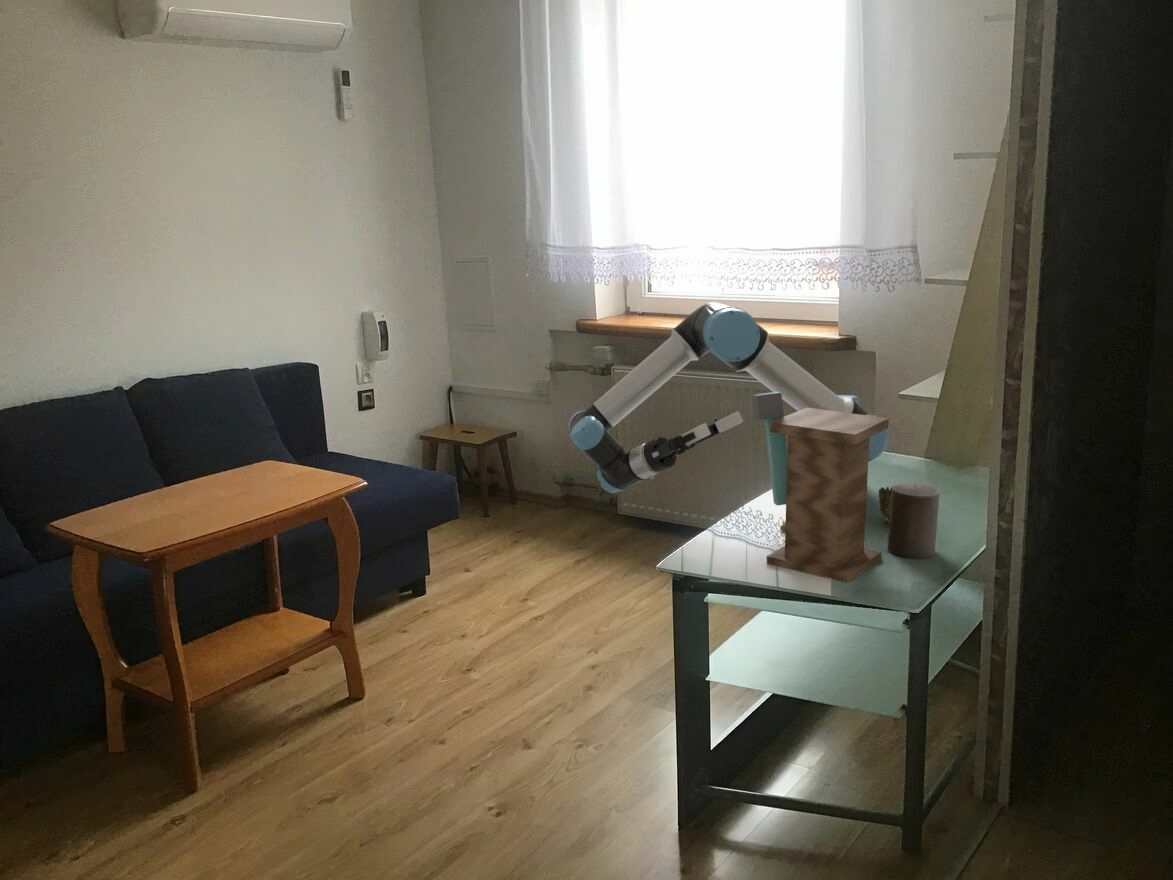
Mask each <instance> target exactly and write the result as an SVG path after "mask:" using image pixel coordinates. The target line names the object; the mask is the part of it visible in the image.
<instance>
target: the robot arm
mask: <svg viewBox="0 0 1173 880" xmlns="http://www.w3.org/2000/svg"><path fill="white" fill-rule="evenodd" d="M769 336H770V335H769V333H768V331H767V330H766V329H764V328H763V327H762V326H761V325H760V324H758V323H757V321H756V320H755V319H754V318H753V316H752V315H751V314H750V313H748V312H747V311H746V310H743V309H741V308H739V307H734V306H732V305H729V304H727V303H724V302H719V301H713V302H708V303H705V304H703V305H701V306H700V307H698V308H696V309H694V311H693V312H691V313H690V314H689V315H688V316H686V318H685V319H684V320H682V321H681V322H680V323H679V324H677V325H676V326H674V328H673V329H672V330H671V335H670V337H668V338H667V339H666V340H665V341H664V342H663V343H661V345H659V346H658V348H656V349H655V350H654V351H653V352H651V353H650V354H649V355H648V356H647V357H645V359H644V360H642V361H641V362H640V363H638V364H637V366H635V367H634V368H633V369H632V370H631V371H629V373H627V374H626V375H625V376H623V377H622V378H621V379H620V380H619V381H618V382H616V383H615V385H613V386H612V387H611V388H610V389H609V390H607V391H606V392H605V393H604V394H603V395H602V396H600V397H599V398H598V399H597V400H596V401H595V402H593V403H592V404H591V405H590V406H589V407H587V408H586V409H585V410H579V411H576V412H575V413H573V414H572V416H571V417H570V419H569V423H568V429H569V432H570V434H569V438H570V439H571V441H572V442H573V443H574V445H575V446H576V447H577V449H580V451H581V452H583V454H584V455H585V456H586V457H587V458H588V459H589V460H591V462H592V463H594V465H595V466H596V467H597V469H598V470H597V481H598V482H600V486H601V488H603V490H605V491H607V492H608V493H611V494H615V493H619V492H622V491H625V490H628V489H629V488H631V487H632V486H634V485H637V484H638V483H640V482H643V481H645V480H647V479H648V478H649V480H654V478H655V475H657V474H659V473H660V472H664V471H666V470H668V469H671V468H672V467H674V466H675V465H676V462H677V456H680V455H682V454H684V453H685V452H686V451H689V450H690V449H692V448H694V447H695V446H696V445H698V444H700V443H702V442H704V441H707V440H709V439H710V438H713V437H716V436H718V435H719V434H720V435H721V434H723V433H724V432H725V431H728V430H730V429H732V428H734V427H736V426H738V425H740V424H742V423H744V420H743V417H742V416H741V413H740V411H739V410H737V411H735V412H733V413H731V414H728V415H727V416H725V417H723V418H721V419H719V420H718V419H717V418H716V419H714V420H713V422H714V423H712V424H711V425H707V423H706V422H704V423H702V424H700V425H697V426H696V427H693V428H692V429H690V430H687V431H685V432H683V433H682V434H681V435H676V436H675V437H673V438H669V439H668V438H666V437H664V436H656V437H655V438H653V439H651V440H649V441H647V442H645V443H643V444H640V445H638V446H636V447H634V448H632V449H631V450H629V451H627V450H626V449H625V448H624V447H623V445H621V444H620V443H619V442H618V441H617V439H616V438H615V437H614V436H613V435H612V434H611V432H610V430H612V429H613V428H614V427H615V426H616V425H617V424H619V423H620V422H621V421H622V420H623V419H624V418H625V417H627V416H628V415H629V414H630V413H631V412H633V411H634V410H635V409H636V408H637V407H638V406H639V405H641V404H642V403H643V402H644V401H645V400H647V399H648V398H649V397H650V396H651V395H652V394H654V393H655V392H656V391H657V390H659V388H661V387H662V386H663V385H664V384H665V383H667V382H668V381H669V380H670V379H672V378H673V377H674V376H675V375H676V374H677V373H678V372H679V371H681V370H682V369H683V368H684V367H685V366H687V365H688V364H689V363H690V362H691V361H698V360H700V359H701V358H703V356H705V355H707V354H708V353H711V354H713V355H714V356H715V357H716V358H718V359H719V360H721V361H722V362H723V363H724V364H725V365H727V366H728V367H729V368H731V370H734V371H735V372H739V373H740V372H744V371H745V372H747V373H748V374H749V375H751V376H752V377H753V378H755V379H756V380H757V381H758V382H759V383H761V384H763V385H764V386H765V387H766V388H768V389H769V390H770V391H771V392H781V395H782V401H784V402H786V403H787V404H788V405H789V406H791V407H792V408H793V409H794V410H796V412H797V411H800V410H802V409H805V408H814V409H821V410H829V411H837V412H844V413H852V414H859V415H867V416H875V417H879V416H878V415H874V414H872V413H871V412H869V411H868V410H867V409H865V408H864V407H863V406H862V405H860V404H861V403H860V399H859V397H858V396H856V395H850V394H849V395H848V394H847V395H845V394H840V395H839V394H838V395H837V394H836V393H835V392H833V391H832V390H831V389H830V388H829V387H827V386H826V385H825V384H823V383H822V382H821V381H820V380H818V379H817V378H815V376H813V375H812V374H811V373H809V371H807V370H806V369H805V368H803V367H802V366H801V365H799V364H798V363H797V362H795V361H794V359H792V358H791V357H789V356H788V355H787V354H785V353H784V352H783V351H781V349H779V348H778V347H776V346H775V345H774V344H773V343H771V342H770V339H769ZM888 442H889V428H887V429H885V430H883V431H881V432H879V433H877V434H875V435H873V436H871V437H870V438H869V458H868V463H869V462H871V461H875V459H877V458H879V457H880V456H881V454H883V452H884V451H885V449H886V448H887V445H888Z"/></svg>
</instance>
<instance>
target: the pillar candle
mask: <svg viewBox="0 0 1173 880" xmlns="http://www.w3.org/2000/svg"><path fill="white" fill-rule="evenodd" d="M892 486H893V487H892ZM892 486H891V487H892V494H891V506H890V519H889V525H888V533H887V551H888V550H889V551H890V552H889V551H888V552H889V553H891V554H893V555H895V556H897V557H900V556H901V557H900V558H907V559H926V558H927V557H928V558H930V556H931V557H932V555H933V556H934V555H935V553H936V541H937V540H936V539H937V531H938V530H937V529H938V528H937V527H938V517H939V507H940V506H939V502H940V494H941V490H939V489H938V488H937V487H935V486H933V485H928V484H924V483H918V482H901V483H897V484H893V485H892Z"/></svg>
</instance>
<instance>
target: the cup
mask: <svg viewBox="0 0 1173 880" xmlns="http://www.w3.org/2000/svg"><path fill="white" fill-rule="evenodd" d="M893 486H894V485H892V486H891V488H889V486H886V487H885V488H884V487H880V488H878V502H879V509H880V510H879V511H880V513H881V515H882V516H883V517H885V523H886V524H887V525H888V526H889V519H890V506H891V494H892V487H893Z"/></svg>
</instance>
